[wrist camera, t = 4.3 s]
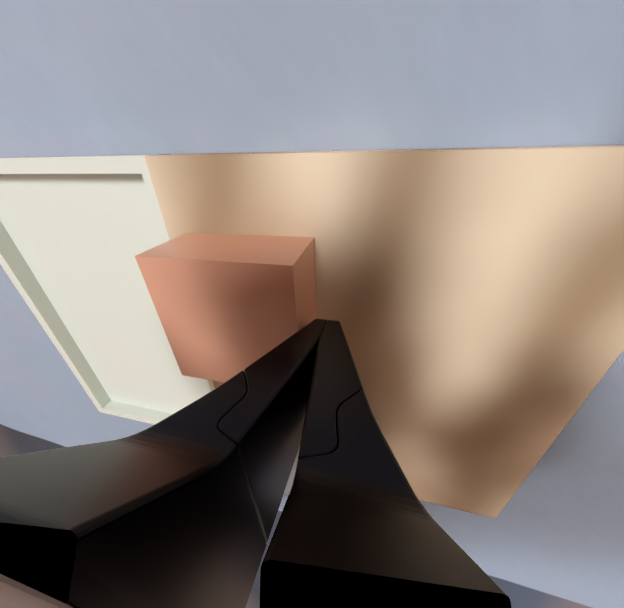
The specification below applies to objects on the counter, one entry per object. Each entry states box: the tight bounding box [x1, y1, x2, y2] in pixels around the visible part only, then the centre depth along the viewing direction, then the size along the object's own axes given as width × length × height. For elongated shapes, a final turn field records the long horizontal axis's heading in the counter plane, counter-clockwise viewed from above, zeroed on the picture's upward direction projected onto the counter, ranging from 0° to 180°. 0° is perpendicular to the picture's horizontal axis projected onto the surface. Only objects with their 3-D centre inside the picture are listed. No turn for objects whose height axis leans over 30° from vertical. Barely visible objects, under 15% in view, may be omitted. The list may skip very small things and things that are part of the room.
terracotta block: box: [135, 233, 317, 382], centre depth 10 cm, size 5×5×2 cm
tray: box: [0, 154, 215, 425], centre depth 16 cm, size 12×18×1 cm, turn 2°
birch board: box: [144, 145, 624, 518], centre depth 13 cm, size 16×18×2 cm
